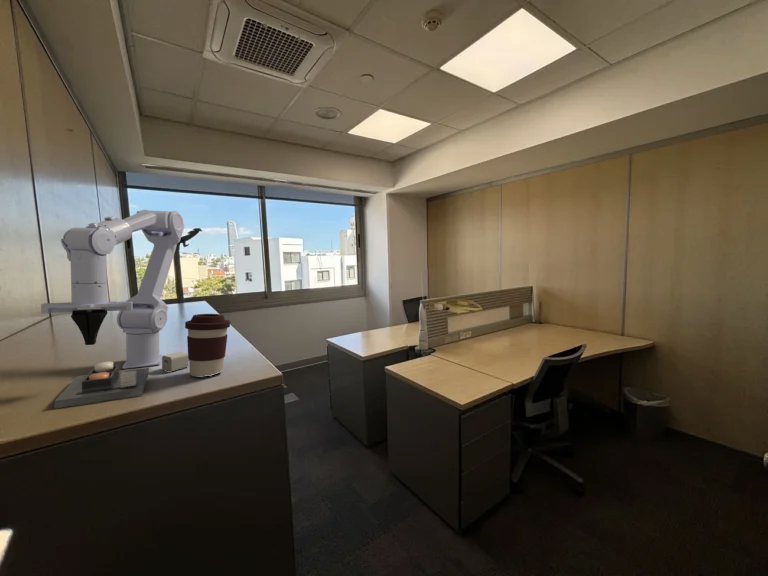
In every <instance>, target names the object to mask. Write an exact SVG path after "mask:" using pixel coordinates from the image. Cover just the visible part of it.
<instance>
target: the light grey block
mask: <svg viewBox="0 0 768 576" xmlns="http://www.w3.org/2000/svg"><path fill="white" fill-rule="evenodd" d="M120 379H121V387H127V386H134V385H136V382H137V379H136V371H128V372H122V373H121V375H120Z"/></svg>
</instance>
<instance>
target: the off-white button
mask: <svg viewBox="0 0 768 576" xmlns="http://www.w3.org/2000/svg"><path fill="white" fill-rule="evenodd" d="M113 366H114V362H113V361H102V362H98V363H95V364H94V368H95V372H107V371H111V370H113Z"/></svg>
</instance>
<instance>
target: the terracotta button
mask: <svg viewBox="0 0 768 576" xmlns="http://www.w3.org/2000/svg"><path fill="white" fill-rule="evenodd" d="M103 378H109V373H108V372H101V373H95V374H92V375H90V376H89V380H95V379H103Z"/></svg>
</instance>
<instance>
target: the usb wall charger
mask: <svg viewBox="0 0 768 576" xmlns="http://www.w3.org/2000/svg"><path fill="white" fill-rule="evenodd" d="M187 366H188V367H189V359H188V352H183V351H178V352H174V353H169V354H164V355H162V359H161V369H162V371H163V370H166V371H165V372H167V371H171V372H170V373H173V372H172V371H174V372H176V371H175V370H178V369H181V368H184V367H187ZM181 370H182V369H181ZM178 371H179V370H178Z"/></svg>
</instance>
